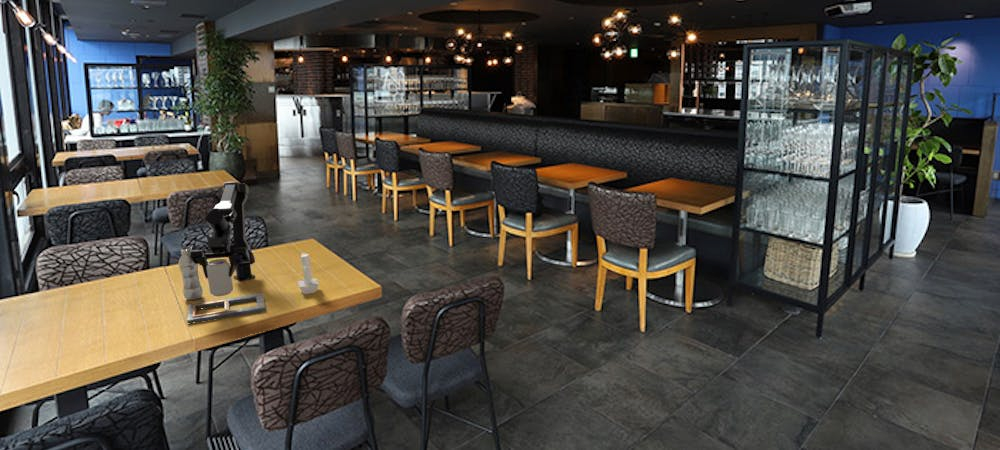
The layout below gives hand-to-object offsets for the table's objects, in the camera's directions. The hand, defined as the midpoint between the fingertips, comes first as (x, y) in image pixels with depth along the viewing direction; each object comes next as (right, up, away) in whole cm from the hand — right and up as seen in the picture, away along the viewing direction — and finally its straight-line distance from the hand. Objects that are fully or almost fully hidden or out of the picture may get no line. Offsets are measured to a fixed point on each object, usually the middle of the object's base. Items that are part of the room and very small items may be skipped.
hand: (218, 277), depth 210 cm
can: (0, -6, +3) cm, 7 cm away
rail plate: (+1, -12, +6) cm, 14 cm away
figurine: (+25, -8, +22) cm, 34 cm away
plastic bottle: (-17, -10, +16) cm, 25 cm away
